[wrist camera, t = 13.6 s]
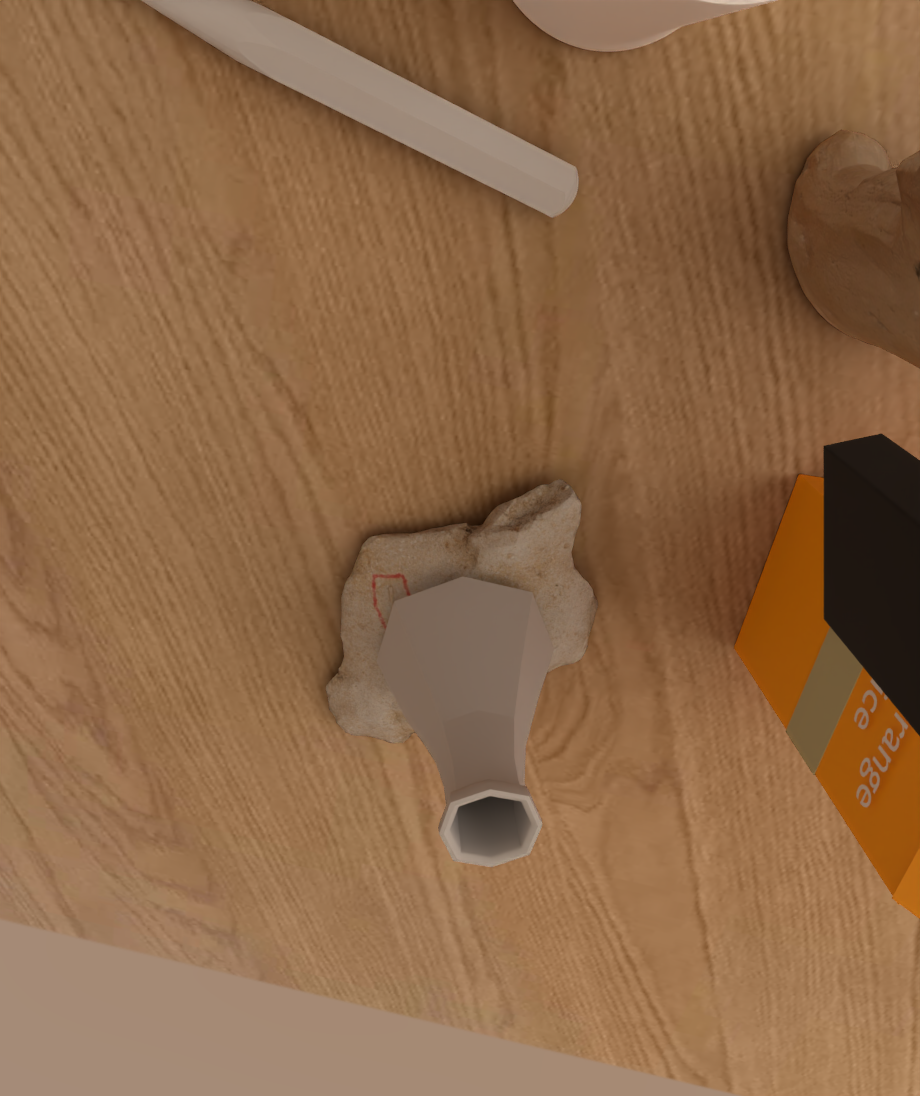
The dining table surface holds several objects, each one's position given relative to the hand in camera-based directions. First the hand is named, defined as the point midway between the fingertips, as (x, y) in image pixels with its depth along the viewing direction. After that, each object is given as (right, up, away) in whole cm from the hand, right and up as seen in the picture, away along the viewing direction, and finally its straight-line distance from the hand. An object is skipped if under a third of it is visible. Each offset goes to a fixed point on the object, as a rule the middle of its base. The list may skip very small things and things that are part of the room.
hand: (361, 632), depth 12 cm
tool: (-3, +17, +17) cm, 24 cm away
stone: (+1, -2, +26) cm, 27 cm away
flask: (+2, -3, +24) cm, 24 cm away
